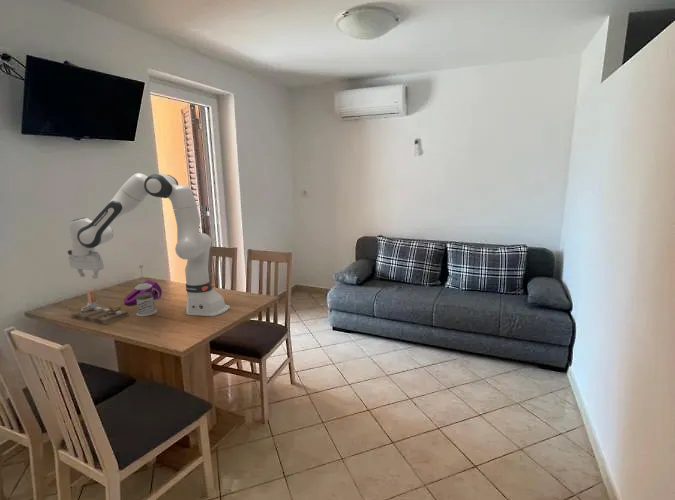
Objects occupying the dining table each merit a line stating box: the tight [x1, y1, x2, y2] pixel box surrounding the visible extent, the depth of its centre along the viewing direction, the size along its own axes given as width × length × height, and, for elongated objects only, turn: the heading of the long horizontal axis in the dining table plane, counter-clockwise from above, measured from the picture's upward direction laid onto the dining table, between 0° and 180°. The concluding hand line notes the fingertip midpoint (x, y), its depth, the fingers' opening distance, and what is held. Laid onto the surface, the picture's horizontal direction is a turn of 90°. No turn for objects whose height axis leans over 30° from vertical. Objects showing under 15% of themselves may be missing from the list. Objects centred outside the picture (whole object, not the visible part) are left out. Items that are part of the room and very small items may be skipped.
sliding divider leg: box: [80, 289, 99, 312], centre depth 191 cm, size 3×8×9 cm, turn 158°
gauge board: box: [71, 304, 129, 325], centre depth 189 cm, size 24×12×6 cm, turn 68°
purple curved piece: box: [123, 279, 163, 306], centre depth 213 cm, size 10×8×18 cm
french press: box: [134, 264, 160, 317], centre depth 192 cm, size 10×12×25 cm
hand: (89, 277), depth 191 cm, fingers open, 8 cm apart
